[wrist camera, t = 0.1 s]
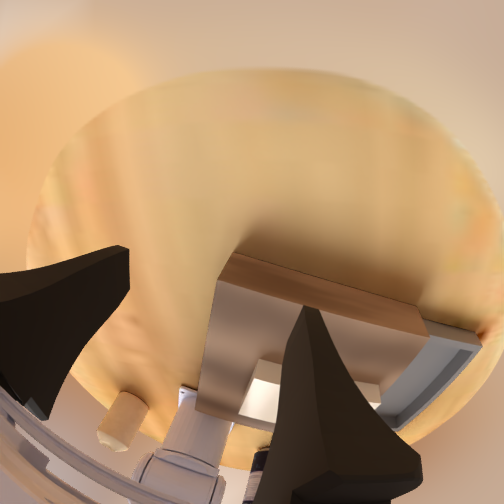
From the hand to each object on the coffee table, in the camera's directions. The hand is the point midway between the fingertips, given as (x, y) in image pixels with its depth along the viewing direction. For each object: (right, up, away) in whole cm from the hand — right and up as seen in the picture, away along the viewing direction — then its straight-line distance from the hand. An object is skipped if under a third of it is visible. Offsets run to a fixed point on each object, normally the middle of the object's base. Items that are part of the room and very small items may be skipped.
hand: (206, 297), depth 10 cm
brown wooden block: (+6, -8, +14) cm, 17 cm away
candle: (-17, -22, +26) cm, 39 cm away
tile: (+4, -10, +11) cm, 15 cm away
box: (+18, -12, +13) cm, 25 cm away
